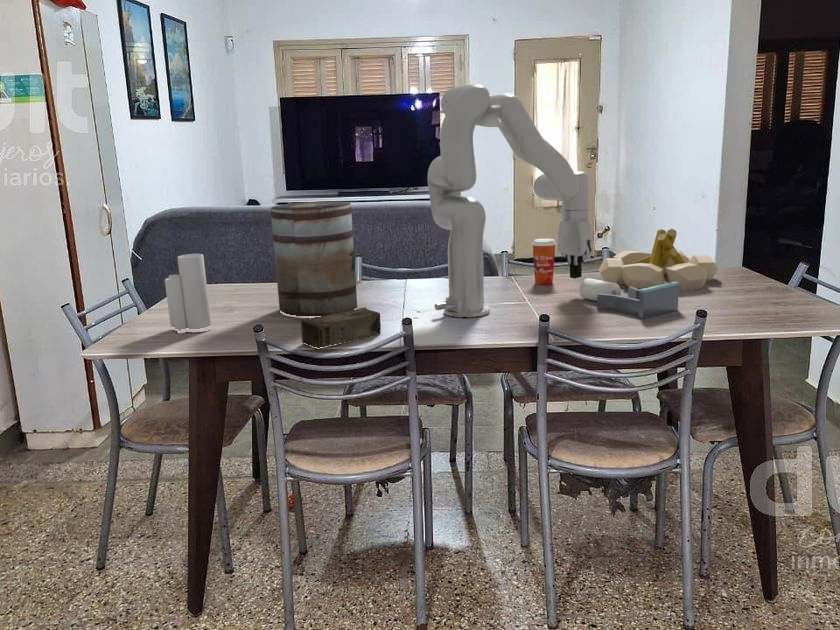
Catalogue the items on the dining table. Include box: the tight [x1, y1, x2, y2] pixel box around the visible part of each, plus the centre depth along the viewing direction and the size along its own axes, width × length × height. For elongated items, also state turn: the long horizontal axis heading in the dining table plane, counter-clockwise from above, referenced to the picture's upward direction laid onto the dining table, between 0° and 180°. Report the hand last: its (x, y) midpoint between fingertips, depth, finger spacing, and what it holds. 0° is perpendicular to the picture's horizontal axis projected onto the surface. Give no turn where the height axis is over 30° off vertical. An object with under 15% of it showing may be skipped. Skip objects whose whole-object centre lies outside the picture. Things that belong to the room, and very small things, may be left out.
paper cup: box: [531, 238, 558, 286], centre depth 230 cm, size 8×8×14 cm
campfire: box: [598, 228, 719, 292], centre depth 227 cm, size 35×34×17 cm
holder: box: [596, 282, 680, 319], centre depth 194 cm, size 14×16×8 cm
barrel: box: [269, 201, 358, 316], centre depth 206 cm, size 22×22×30 cm
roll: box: [578, 277, 622, 302], centre depth 205 cm, size 10×6×6 cm, turn 34°
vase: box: [164, 253, 212, 330], centre depth 189 cm, size 11×7×20 cm, turn 85°
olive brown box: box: [300, 306, 382, 348], centre depth 177 cm, size 8×19×7 cm, turn 130°
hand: (575, 277), depth 213 cm, fingers closed
